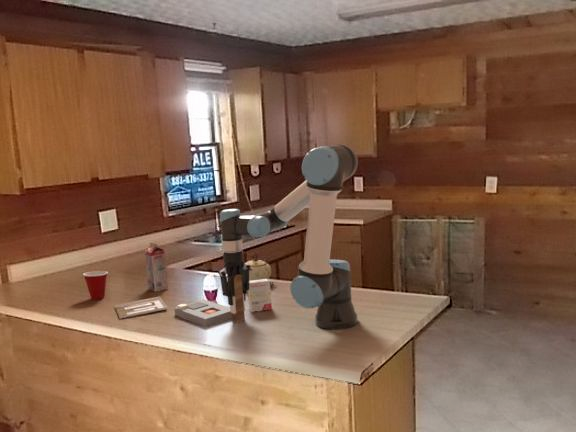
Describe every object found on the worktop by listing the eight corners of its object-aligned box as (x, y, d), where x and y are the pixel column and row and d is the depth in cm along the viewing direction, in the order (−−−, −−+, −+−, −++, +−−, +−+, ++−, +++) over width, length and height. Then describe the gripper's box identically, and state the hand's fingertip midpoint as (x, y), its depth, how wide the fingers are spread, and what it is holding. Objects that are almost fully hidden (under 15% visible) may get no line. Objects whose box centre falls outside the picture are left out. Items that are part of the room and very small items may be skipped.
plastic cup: (115, 296, 261) (112, 270, 259) (96, 302, 252) (92, 276, 250) (100, 293, 267) (97, 268, 265) (80, 299, 258) (77, 274, 256)
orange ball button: (218, 314, 220) (218, 311, 220) (209, 317, 217) (209, 314, 217) (212, 311, 223) (212, 309, 223) (202, 314, 220) (202, 312, 220)
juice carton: (155, 291, 264) (150, 245, 261) (148, 289, 269) (143, 243, 266) (167, 288, 268) (163, 242, 265) (160, 286, 273) (156, 241, 270)
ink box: (269, 306, 231) (267, 277, 229) (272, 309, 226) (270, 280, 224) (248, 308, 229) (246, 280, 227) (250, 312, 224) (248, 283, 223)
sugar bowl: (257, 278, 276) (254, 248, 274) (281, 281, 268) (279, 250, 265) (229, 288, 261) (227, 256, 259) (255, 292, 252) (252, 259, 250)
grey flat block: (236, 317, 220) (235, 306, 219) (206, 326, 211) (205, 316, 210) (204, 306, 236) (203, 296, 235) (175, 315, 227) (174, 305, 226)
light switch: (160, 300, 250) (115, 309, 243) (159, 296, 249) (115, 305, 242) (167, 311, 234) (120, 321, 227) (167, 306, 233) (119, 316, 226)
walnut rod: (244, 320, 215) (241, 273, 213) (237, 322, 213) (233, 275, 210) (239, 318, 218) (235, 272, 215) (232, 320, 216) (228, 274, 213)
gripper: (244, 245, 220) (248, 304, 223) (208, 253, 209) (214, 315, 212) (256, 247, 214) (260, 307, 218) (220, 256, 203) (225, 319, 207)
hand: (237, 311), depth 215 cm, fingers closed on walnut rod, 3 cm apart
